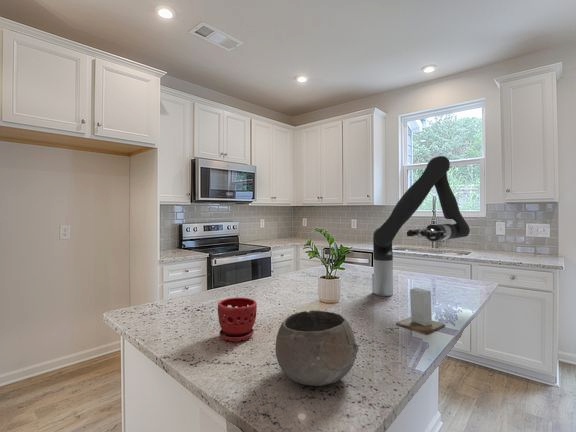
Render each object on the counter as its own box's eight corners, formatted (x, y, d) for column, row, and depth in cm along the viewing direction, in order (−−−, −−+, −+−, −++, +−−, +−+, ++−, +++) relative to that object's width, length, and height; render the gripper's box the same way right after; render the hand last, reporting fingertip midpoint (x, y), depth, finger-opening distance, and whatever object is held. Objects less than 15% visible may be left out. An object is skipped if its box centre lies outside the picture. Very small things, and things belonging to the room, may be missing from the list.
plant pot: (240, 347, 100) (239, 310, 99) (210, 339, 107) (209, 304, 106) (264, 333, 111) (264, 299, 110) (236, 326, 118) (235, 294, 117)
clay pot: (296, 410, 68) (295, 341, 68) (264, 366, 87) (263, 312, 87) (375, 387, 77) (374, 325, 76) (330, 351, 96) (329, 302, 95)
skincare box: (432, 324, 114) (432, 291, 114) (423, 326, 112) (423, 292, 112) (418, 319, 120) (418, 287, 120) (409, 321, 118) (409, 288, 117)
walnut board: (396, 324, 117) (396, 322, 117) (414, 317, 124) (414, 315, 124) (426, 334, 107) (426, 332, 107) (445, 326, 114) (445, 324, 114)
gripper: (423, 223, 145) (401, 224, 136) (454, 224, 134) (433, 226, 124) (423, 239, 145) (401, 242, 136) (454, 242, 134) (433, 245, 124)
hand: (417, 234), depth 130 cm, fingers open, 8 cm apart
